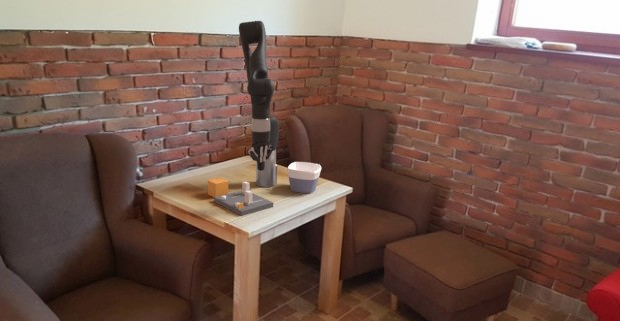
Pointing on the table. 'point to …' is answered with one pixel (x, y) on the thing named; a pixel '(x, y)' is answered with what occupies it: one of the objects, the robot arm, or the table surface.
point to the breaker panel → (236, 203)
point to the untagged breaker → (245, 187)
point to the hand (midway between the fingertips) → (260, 170)
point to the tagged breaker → (248, 198)
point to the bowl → (303, 176)
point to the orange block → (217, 187)
